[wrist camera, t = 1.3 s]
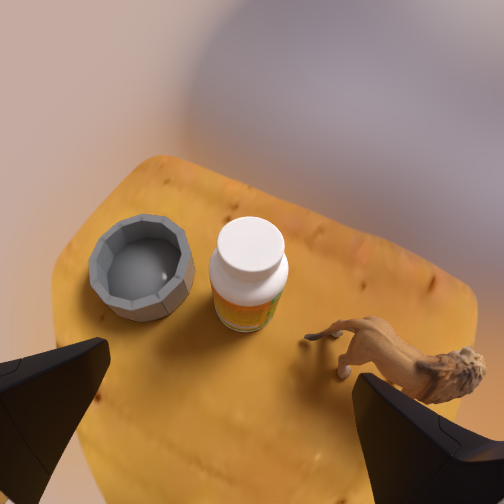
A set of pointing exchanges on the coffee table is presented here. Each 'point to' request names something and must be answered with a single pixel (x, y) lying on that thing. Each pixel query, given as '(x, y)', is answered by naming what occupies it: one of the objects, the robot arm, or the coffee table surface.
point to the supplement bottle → (248, 273)
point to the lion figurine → (407, 361)
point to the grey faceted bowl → (142, 267)
